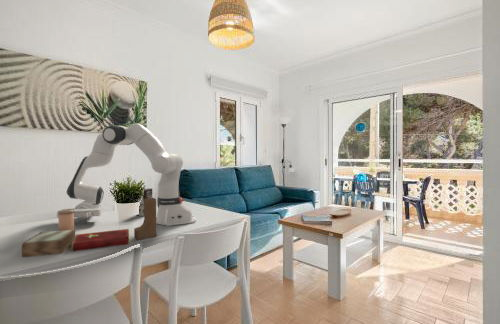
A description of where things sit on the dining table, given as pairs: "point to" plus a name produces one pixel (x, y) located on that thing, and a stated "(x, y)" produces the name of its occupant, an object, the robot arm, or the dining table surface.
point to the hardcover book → (100, 239)
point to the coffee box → (146, 195)
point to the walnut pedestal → (48, 243)
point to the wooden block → (147, 221)
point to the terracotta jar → (66, 219)
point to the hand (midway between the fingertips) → (75, 216)
